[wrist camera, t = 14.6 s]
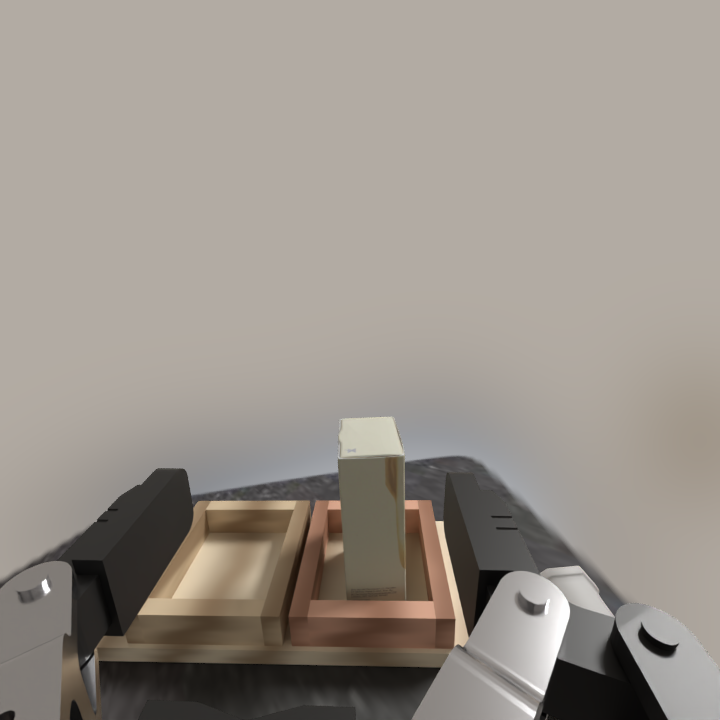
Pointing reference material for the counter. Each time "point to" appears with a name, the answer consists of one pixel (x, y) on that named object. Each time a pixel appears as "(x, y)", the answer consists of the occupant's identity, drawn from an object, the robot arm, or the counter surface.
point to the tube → (577, 588)
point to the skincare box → (372, 508)
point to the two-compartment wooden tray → (292, 594)
